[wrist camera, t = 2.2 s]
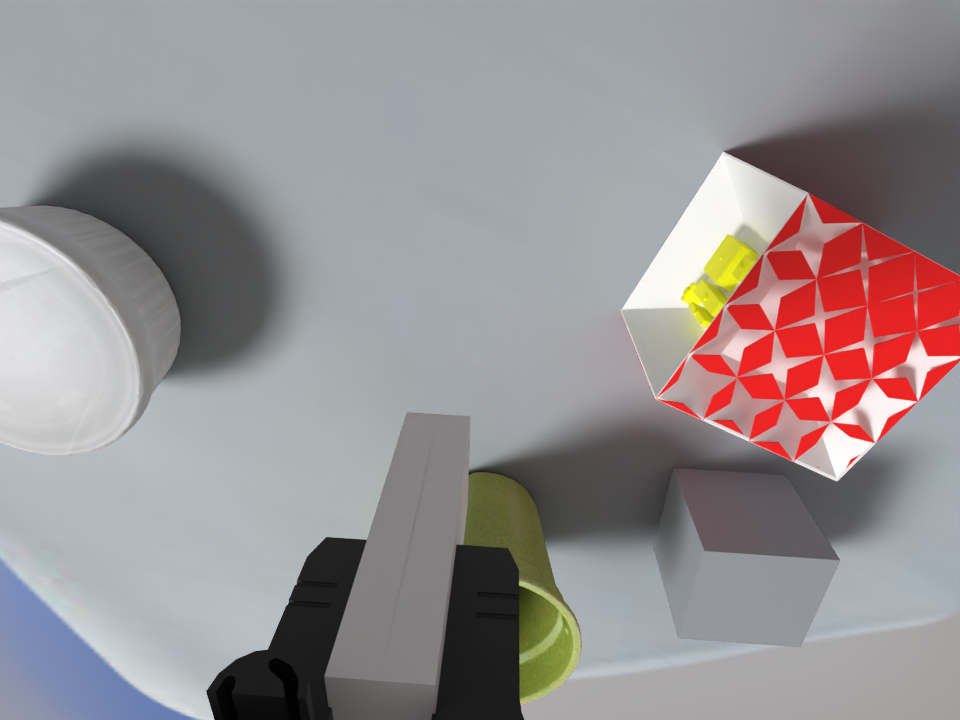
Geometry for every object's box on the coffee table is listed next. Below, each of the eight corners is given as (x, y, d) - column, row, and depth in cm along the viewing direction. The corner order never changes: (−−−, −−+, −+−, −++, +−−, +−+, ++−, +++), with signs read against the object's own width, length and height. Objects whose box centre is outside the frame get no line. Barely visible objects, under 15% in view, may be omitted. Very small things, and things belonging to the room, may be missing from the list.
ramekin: (13, 129, 25) (-102, 147, 20) (243, 286, 28) (187, 332, 23) (-53, 312, 29) (-160, 361, 25) (151, 431, 32) (89, 495, 28)
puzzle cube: (722, 150, 24) (808, 192, 17) (876, 234, 25) (1016, 305, 18) (618, 311, 27) (653, 401, 20) (757, 377, 28) (835, 483, 21)
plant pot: (593, 473, 32) (617, 607, 24) (533, 585, 36) (538, 728, 28) (429, 425, 31) (400, 548, 23) (388, 545, 35) (353, 683, 28)
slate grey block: (672, 466, 31) (704, 551, 26) (785, 473, 31) (840, 560, 26) (653, 547, 34) (678, 638, 29) (756, 554, 34) (800, 647, 29)
